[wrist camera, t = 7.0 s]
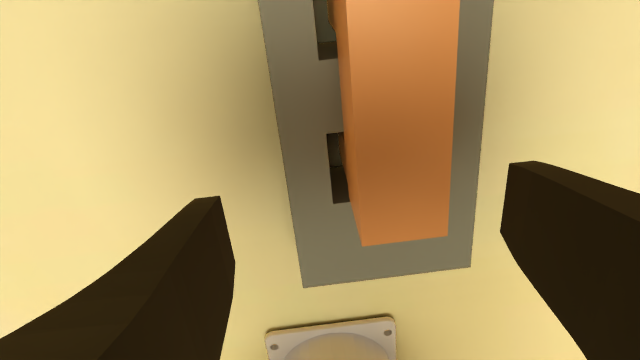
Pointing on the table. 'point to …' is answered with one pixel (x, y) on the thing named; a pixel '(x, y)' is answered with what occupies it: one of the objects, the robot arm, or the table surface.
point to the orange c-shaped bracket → (397, 113)
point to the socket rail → (330, 183)
